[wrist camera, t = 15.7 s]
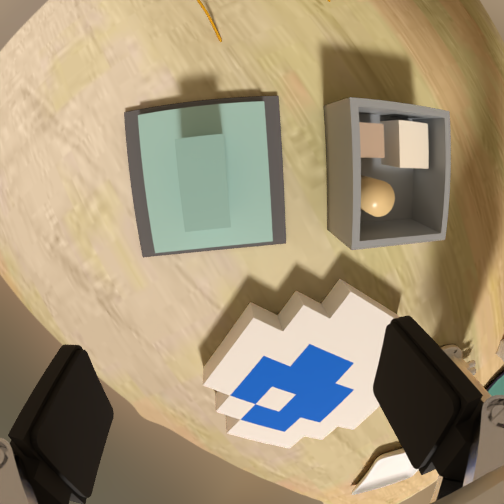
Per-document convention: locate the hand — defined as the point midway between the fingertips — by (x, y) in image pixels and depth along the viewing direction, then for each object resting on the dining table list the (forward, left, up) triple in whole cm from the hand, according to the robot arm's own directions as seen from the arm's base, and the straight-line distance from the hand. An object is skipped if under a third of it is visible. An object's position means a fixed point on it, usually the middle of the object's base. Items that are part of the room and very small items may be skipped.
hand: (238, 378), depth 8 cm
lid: (+2, -4, -25) cm, 25 cm away
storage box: (-17, -4, -25) cm, 31 cm away
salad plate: (-36, +68, -26) cm, 82 cm away
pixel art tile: (-10, +25, -26) cm, 37 cm away
